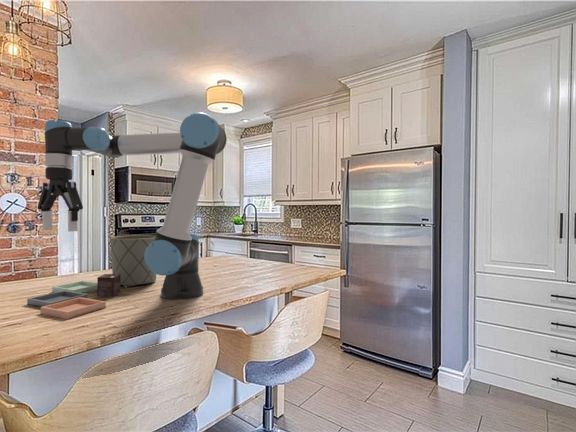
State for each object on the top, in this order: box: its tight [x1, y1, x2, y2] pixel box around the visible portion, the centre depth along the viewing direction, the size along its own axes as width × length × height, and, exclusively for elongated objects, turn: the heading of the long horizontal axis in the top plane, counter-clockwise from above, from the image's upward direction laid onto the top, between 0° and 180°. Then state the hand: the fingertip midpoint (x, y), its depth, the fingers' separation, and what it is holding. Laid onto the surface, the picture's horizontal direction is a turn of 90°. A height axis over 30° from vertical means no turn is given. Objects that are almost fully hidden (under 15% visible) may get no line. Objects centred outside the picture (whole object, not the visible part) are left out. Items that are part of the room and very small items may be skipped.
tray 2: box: [51, 280, 97, 294], centre depth 131 cm, size 12×12×2 cm
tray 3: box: [40, 297, 107, 320], centre depth 105 cm, size 12×12×2 cm
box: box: [96, 273, 122, 298], centre depth 124 cm, size 6×6×7 cm
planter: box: [109, 234, 157, 288], centre depth 145 cm, size 19×19×20 cm
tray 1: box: [26, 291, 89, 308], centre depth 114 cm, size 12×12×2 cm
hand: (59, 230), depth 113 cm, fingers open, 13 cm apart
